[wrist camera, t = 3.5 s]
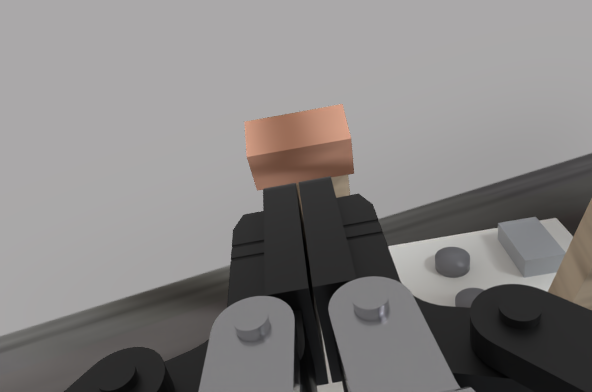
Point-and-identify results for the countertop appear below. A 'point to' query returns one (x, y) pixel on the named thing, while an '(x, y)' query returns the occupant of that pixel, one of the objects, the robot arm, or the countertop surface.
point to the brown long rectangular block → (301, 149)
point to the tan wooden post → (577, 266)
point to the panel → (477, 264)
